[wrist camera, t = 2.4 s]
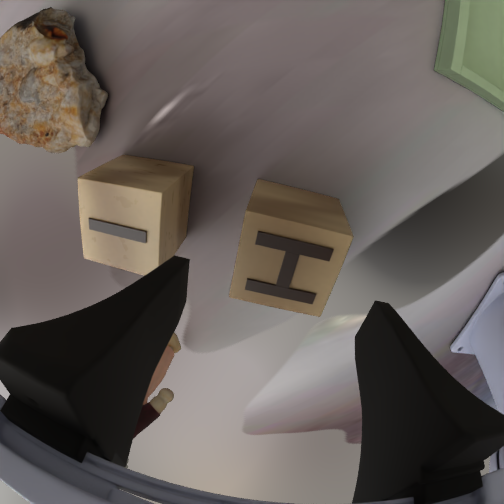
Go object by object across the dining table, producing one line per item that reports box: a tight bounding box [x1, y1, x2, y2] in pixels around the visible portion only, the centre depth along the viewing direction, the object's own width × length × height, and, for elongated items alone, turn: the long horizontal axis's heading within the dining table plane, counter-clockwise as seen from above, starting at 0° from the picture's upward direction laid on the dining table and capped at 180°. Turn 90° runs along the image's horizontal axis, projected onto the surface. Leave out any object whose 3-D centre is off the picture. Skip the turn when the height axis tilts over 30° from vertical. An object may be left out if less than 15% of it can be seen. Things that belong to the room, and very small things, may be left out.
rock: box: [0, 7, 108, 153], centre depth 11 cm, size 9×6×10 cm
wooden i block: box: [78, 155, 194, 276], centre depth 15 cm, size 4×4×5 cm
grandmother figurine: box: [125, 333, 181, 468], centre depth 18 cm, size 8×4×13 cm, turn 129°
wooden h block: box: [229, 179, 353, 317], centre depth 15 cm, size 4×4×5 cm
